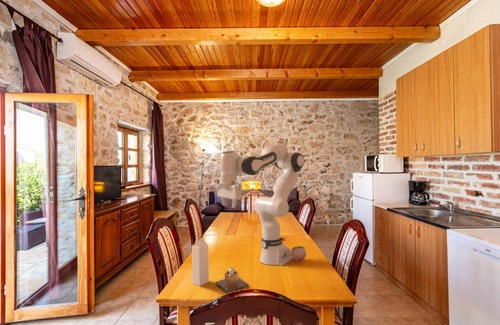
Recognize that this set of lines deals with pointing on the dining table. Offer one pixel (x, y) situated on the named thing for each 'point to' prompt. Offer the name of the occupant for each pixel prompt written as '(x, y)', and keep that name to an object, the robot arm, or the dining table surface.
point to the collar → (231, 278)
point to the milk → (200, 263)
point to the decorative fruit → (298, 253)
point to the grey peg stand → (228, 289)
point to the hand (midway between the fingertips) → (229, 206)
